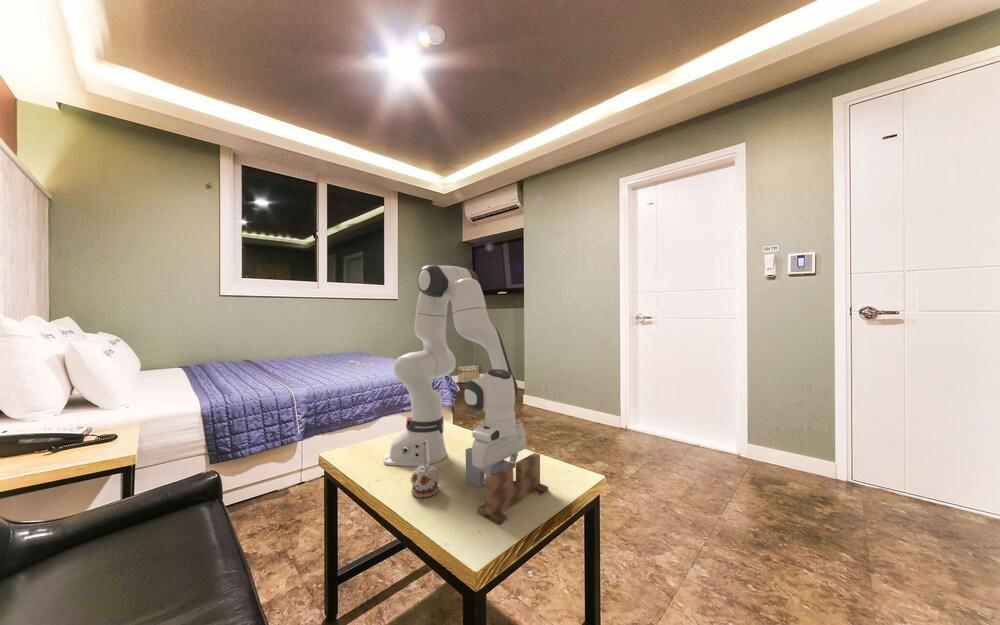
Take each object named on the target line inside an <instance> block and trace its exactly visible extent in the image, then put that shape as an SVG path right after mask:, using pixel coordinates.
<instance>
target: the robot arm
mask: <svg viewBox="0 0 1000 625" xmlns="http://www.w3.org/2000/svg"><path fill="white" fill-rule="evenodd" d="M417 287H418V289H419V294H418V299H417V303H416V308H415V309H416V310H415V317H414V318H415V320H414V329H413V330H414V334H415V336H416V337H417V339H419V340H420V341H421V342H422V345H423V346H422V347H423V350H419V351H412V352H411V351H410V352H408V353H405V354H403V355H400V356H398V357H397V358H396V360H395V362H394V364H393V373H394V376H395V378H396V379H397V380H398V382H400V383H401V384H403V385H404V387H405V388H406V389H407V392H408V393H409V394H408V395H409V398H410V404H411V405H410V407H411V410H410V411H411V415H409V416H407V418H406V421H405V427H406V428H405V429H404V430H403V431H401V432H400V433H399V434H398V435H396V436H395V437H394V438H393V440H392V442H391V445H390V448H389V449H388V451H386V453H385V454H384V456H383V461H384V462H383V464H384V463H385V464H386V466H402V467H404V466H405V467H419V466H420V465H421V466H422V465H423V464H424V458H423V442H426V464H427V465H431V464H434V463H436V462H440V461H442V460H443V459H445V458H446V457H447V455H448V452H447V449H446V444H445V440H444V438H445V437H444V430H445V428H444V427H445V424H444V422H445V420H444V416H443V398H442V394H441V393H439V392H438V391H437V390H435V389H434V388H433V384H432V380H435V379H440V378H443V377H445V376H447V375H449V374H451V373H452V372H454V371H455V369H456V364H457V362H456V361H457V360H456V357H455V356H456V355H454V353H453V352H452V350H450V348H449V347H448V346H449V345H448V344H447V338H446V337H447V336H446V330H447V316H448V305H449V303H450V304H451V312H452V313H451V314H452V321H453V326H454V329H455V330H456V332H457V333H458V335H459V336H461V337H462V338H464V339H466V340H468V341H470V342H474V343H475V344H478V345H480V346H481V347H484V349H486V352H487V354H488V357H489V361H490V364H491V367H492V369H489V370H487V371H486V372H485V374H484V375H482V376H479V377H477V378H473V379H471V380H468V381H467V382H466V384H465V386H464V388H463V395H462V396H463V401H464V404H465V406H467V407H468V408H469V409H470V410H472V411H484V412H485V414H484V420H483V421H481V423H480V424H479V425H478V426H477V427H476V428H475V429H473V430H472V436H471V437H472V438H473V439H474V440H473V442H472V447H471V448H472V464H473V465H474V467H475V468H478V469H480V470H484V471H485V473H486V474H485V473H484V474H485V479H486V478H488V477H490V476H492V475H494V473H492V472H491V470H490V469H492V465H494V464H496V463H498V462H500V461H502V460H506V459H508V458H509V461H508V462H509V468H511V469H513V470H514V469H516V462H517V459H518V457H519V453H520V452H521V451H525V449H526V446H527V438H526V432H525V428H524V423H523V421H522V420H521V419H519V418H518V419H516V411H515V403H516V399H517V396H518V392H519V386H518V383H517V380H516V379H515V376H514V374H513V372H512V370H511V366H510V363H509V359H508V356H507V352H506V349H505V347H504V346H505V345H504V344H503V343H504V342H503V339H502V337H501V334H500V331H499V330H498V329H497V327H495V326H494V325H493V323H492V322H491V319H490V318H489V317H490V316H489V315H488V311H487V304H486V300H485V296H484V293H483V290H482V286H481V284H480V283H479V279H478V275H477V273H476V272H475V271H473V270H471V269H469V268H467V267H460V266H455V265H443V264H442V265H437V264H430V265H429V264H428V265H425V266H422V267H421V269H420V270H419V273H418V275H417ZM449 301H450V302H449ZM385 464H384V465H385Z"/></svg>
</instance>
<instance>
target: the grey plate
mask: <svg viewBox="0 0 1000 625" xmlns="http://www.w3.org/2000/svg"><path fill="white" fill-rule="evenodd" d="M507 467H509V461H507V460H506V459H504V460H502V461H500V462H498V463H496V464H494V465H492V469H490V470H491V472H492V473H494V474H495V473H497V472H499V471H501V470H503V469H505V468H507ZM485 475H486V473H485V471H484V470H480V469H478V468H475V467H474V465H473V464H472V447H468V448H465V482H468V483H469V484H471V485H474V486H476V487H477V488H482V487H483V486H485Z"/></svg>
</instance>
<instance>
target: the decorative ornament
mask: <svg viewBox="0 0 1000 625" xmlns="http://www.w3.org/2000/svg"><path fill="white" fill-rule="evenodd" d="M423 458H424V464H423V465H422V466H421V465H420V466H417V467H416V469H414V470H413V471H412V474H411V477H410V483H411V484H412V485H411V487H412V488H411V491H410V492H411V494H412V495H413V496H414V497H416V498H427V497H432V496H433V495H437V493H438V492H439V490H440V487H439V483H440V482H439V480H440V478H439V474H440V473H439V472H438V469H437V468H436V467H434V466H433V465H431V464H429V465H427V464H426V442H423Z"/></svg>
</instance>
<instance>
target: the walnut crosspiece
mask: <svg viewBox="0 0 1000 625" xmlns="http://www.w3.org/2000/svg"><path fill="white" fill-rule="evenodd" d="M534 492H536V493H538V494H540V495H545V493H547V492H549V486H548V485H545V484H543V483H541V454H540V453H537V452H533V453H532V454H530V455H527V456H526V457H524V458H522V459H520V460H518V461H516V462H515V479H514V468H513V469H511V468H509V467H507V468H505V469H503V470H501V471H499V472H497V473H495V474H494V475H492V476H490V477H488V478H486V477H485V478H484V503H483V504H482V505H480V506H479V507H477V508H476V513H477V514H478V515H480V516H482V517H485V519H488V520H489V521H492V522H494V523H495V524H498V525H499V526H500V525H501V524H503V523H504V522H505V521H507V520H508V514H507V513H504V512H505V511H506V510H508V509H509V508H511V507H513V506H514V505H516V504H517V503H518V502H520V501H522V500H523V499H525V498H526V497H528V496H529V495H530V494H532V493H534Z"/></svg>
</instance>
